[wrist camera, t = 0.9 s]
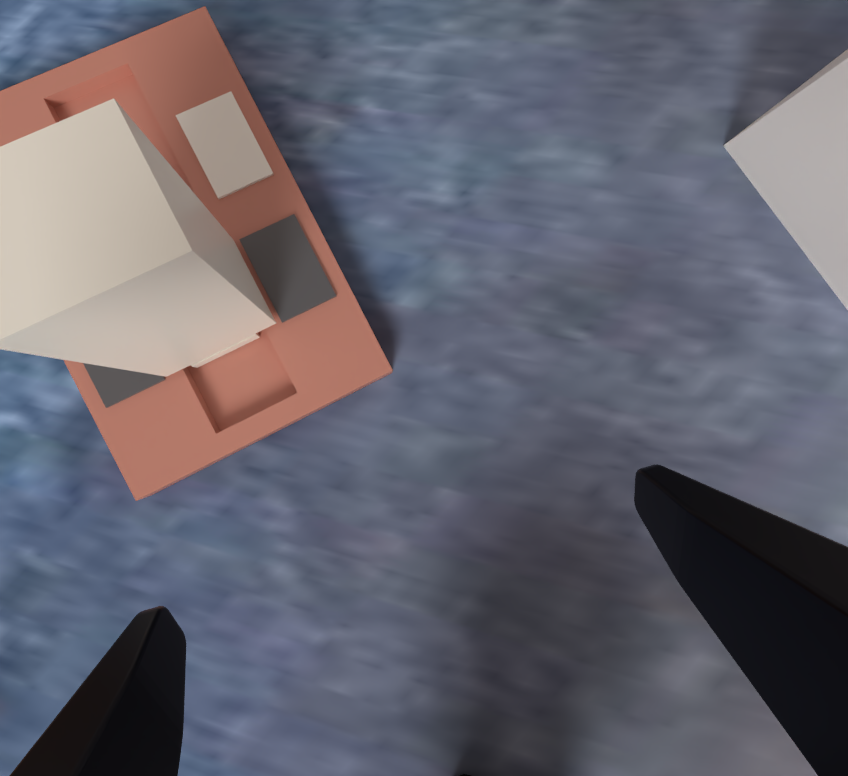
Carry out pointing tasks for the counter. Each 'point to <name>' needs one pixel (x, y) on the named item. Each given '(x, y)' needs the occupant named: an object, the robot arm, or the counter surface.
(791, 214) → the milk
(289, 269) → the switch block
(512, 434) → the counter surface
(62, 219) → the switch tab
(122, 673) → the robot arm
